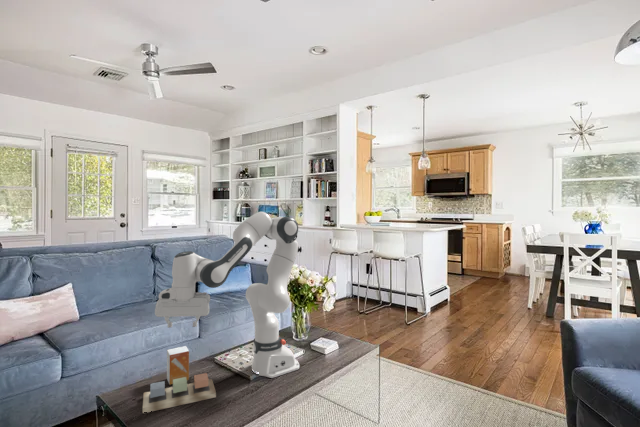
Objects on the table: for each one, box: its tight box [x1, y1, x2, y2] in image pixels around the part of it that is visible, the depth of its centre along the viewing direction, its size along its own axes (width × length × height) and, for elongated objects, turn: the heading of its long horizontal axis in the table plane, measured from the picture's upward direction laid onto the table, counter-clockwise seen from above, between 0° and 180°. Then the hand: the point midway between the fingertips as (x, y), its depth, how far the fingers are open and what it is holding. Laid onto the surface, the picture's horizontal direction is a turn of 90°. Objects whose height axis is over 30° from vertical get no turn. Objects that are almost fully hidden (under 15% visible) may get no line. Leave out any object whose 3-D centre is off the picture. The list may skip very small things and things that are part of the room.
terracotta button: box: [193, 372, 209, 389], centre depth 140 cm, size 5×5×3 cm
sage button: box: [172, 377, 188, 393], centre depth 137 cm, size 5×5×3 cm
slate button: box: [149, 380, 166, 398], centre depth 134 cm, size 5×5×3 cm
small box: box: [166, 345, 190, 385], centre depth 150 cm, size 8×6×13 cm
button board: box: [142, 378, 217, 414], centre depth 137 cm, size 26×11×2 cm, turn 115°
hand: (182, 326), depth 139 cm, fingers open, 8 cm apart
